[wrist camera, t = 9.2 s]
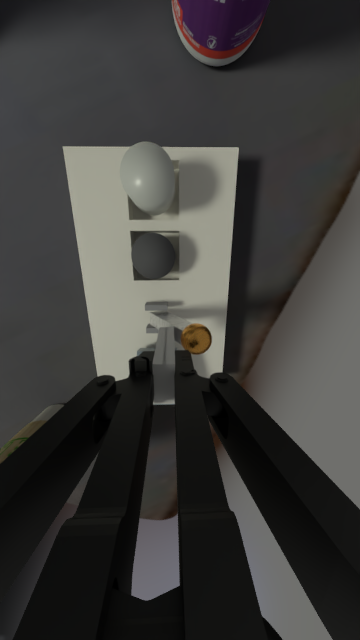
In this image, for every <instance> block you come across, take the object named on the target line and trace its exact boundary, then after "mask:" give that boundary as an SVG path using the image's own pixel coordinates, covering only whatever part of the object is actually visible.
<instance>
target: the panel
mask: <svg viewBox="0 0 360 640" xmlns="http://www.w3.org/2000/svg"><path fill="white" fill-rule="evenodd" d="M129 148H130V147H64V146H63V151H64V157H65V164H66V171H67V177H68V184H69V190H70V197H71V204H72V210H73V217H74V223H75V230H76V237H77V243H78V250H79V256H80V263H81V270H82V276H83V283H84V289H85V296H86V303H87V309H88V316H89V322H90V329H91V336H92V342H93V349H94V355H95V362H96V369H97V375H98V377H99V376H101V375H111V376H113V377H115V381H118V380H122V379H126V378H128V376H129V360H130V359H131V358H133V357H136V356H137V351H138V350H139V349H140V348H156V343H157V337H158V332H159V330H158V329H156V328H155V327H153V326H152V325H150V312H155V311H168V312H170V313H172V314H174V315H176V316H178V317H180V318H183V319H185V320H187V321H189V322H191V323H199V324H202V325H204V326H206V327H207V328H208V329H209V331H210V332H211V335H212V343H211V346H210V348H209V349H208V350H207V351H206V352H205V353H203V354H199V355H193V354H191V356H192V361H193V366H194V369H195V370H196V371H197V374H198V375H199V376H201V377H205V378H210V375H212V374H213V373H217V372H222V371H223V357H224V343H225V329H226V316H227V302H228V288H229V275H230V261H231V247H232V234H233V220H234V206H235V192H236V179H237V165H238V151H239V148H236V147H162V148H163V149H164V150H165V151H166V152H167V154H168V155H169V157H170V159H171V161H172V164H173V167H174V176H175V196H174V200H173V203H172V205H171V206H170V208H169V209H168V210H167V211H166V212H164V213H162V214H160V215H148V214H146V213H144V212H142V211H141V210H140V209H139V208H138V207H137V206H136V205H135V203H134V202H133V201H132V200H131V198H130V197H129V196H128V195H127V193H126V192H125V190H124V188H123V186H122V183H121V179H120V165H121V161H122V158H123V156H124V154H125V153H126V151H127V150H128V149H129ZM146 233H158V234H161V235H163V236H165V237H166V238H167V239H168V240H169V241H170V242H171V244H172V245H173V247H174V250H175V256H176V257H175V263H174V266H173V268H172V270H171V271H170V272H169V273H168V274H167V275H166V276H164V277H162V278H158V279H150V278H147V277H144V276H143V275H141V274H140V273H139V272H138V271H137V270H136V269H135V267H134V265H133V263H132V259H131V251H132V247H133V245H134V243H135V241H136V240H137V239H138V238H139V237H140V236H142V235H144V234H146ZM174 345H175V348H177V350H185V349H184V348H183V347H182V345H180V344H179V343H177V342H176V341H174Z"/></svg>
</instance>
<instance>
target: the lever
mask: <svg viewBox="0 0 360 640" xmlns="http://www.w3.org/2000/svg"><path fill="white" fill-rule="evenodd" d="M150 325H152V326H153V327H155V328H156V329H158V330H159V327H174V341H176V342H177V343H179V344H180V345H182V347H183V348H184V349H185V350H188V351H189V352H190V353H191V354H193V355H199V354H203V353H205V352H206V351H207V350H208V349H209V348H210V346H211V343H212V335H211V332H210V331H209V329H208V328H207V327H206V326H204V325H202V324H199V323H191V322H189V321H187V320H185V319H183V318H180V317H178V316H176V315H174V314H172V313H170V312H168V311H155V312H150Z"/></svg>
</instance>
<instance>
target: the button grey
mask: <svg viewBox="0 0 360 640" xmlns="http://www.w3.org/2000/svg"><path fill="white" fill-rule="evenodd" d="M120 179H121V183H122V186H123V188H124V190H125V192H126V193H127V195H128V196H129V197H130V198H131V200H132V201H133V202H134V203H135V205H136V206H137V207H138V208H139V209H140V210H141V211H142V212H144V213H146V214H148V215H160V214H162V213H164V212H166V211H167V210H168V209H169V208H170V206H171V205H172V203H173V200H174V196H175V176H174V167H173V164H172V161H171V159H170V157H169V155H168V154H167V152H166V151H165V150H164V149H163V148H162V147H160V146H159V145H157V144H155V143H152V142H140V143H137V144H135V145H133V146H131V147H130V148H129V149H128V150H127V151H126V153H125V154H124V156H123V158H122V161H121V165H120Z"/></svg>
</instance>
